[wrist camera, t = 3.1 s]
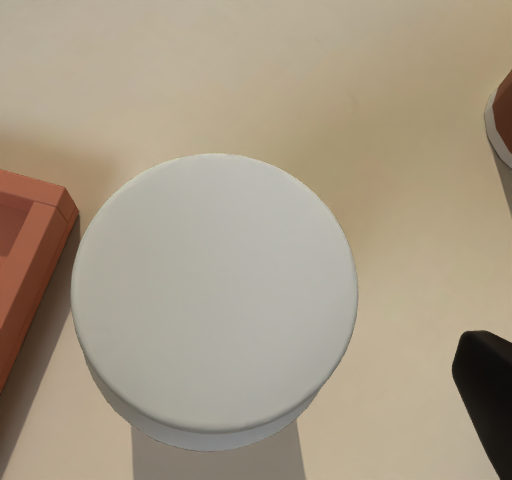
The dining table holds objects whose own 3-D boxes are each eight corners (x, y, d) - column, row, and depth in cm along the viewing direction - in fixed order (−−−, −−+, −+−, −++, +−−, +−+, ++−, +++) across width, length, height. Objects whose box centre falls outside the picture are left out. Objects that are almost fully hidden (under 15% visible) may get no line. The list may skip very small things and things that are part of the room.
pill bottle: (239, 249, 18) (285, 81, 9) (312, 382, 17) (461, 350, 7) (100, 315, 16) (-21, 195, 7) (168, 468, 15) (126, 563, 6)
